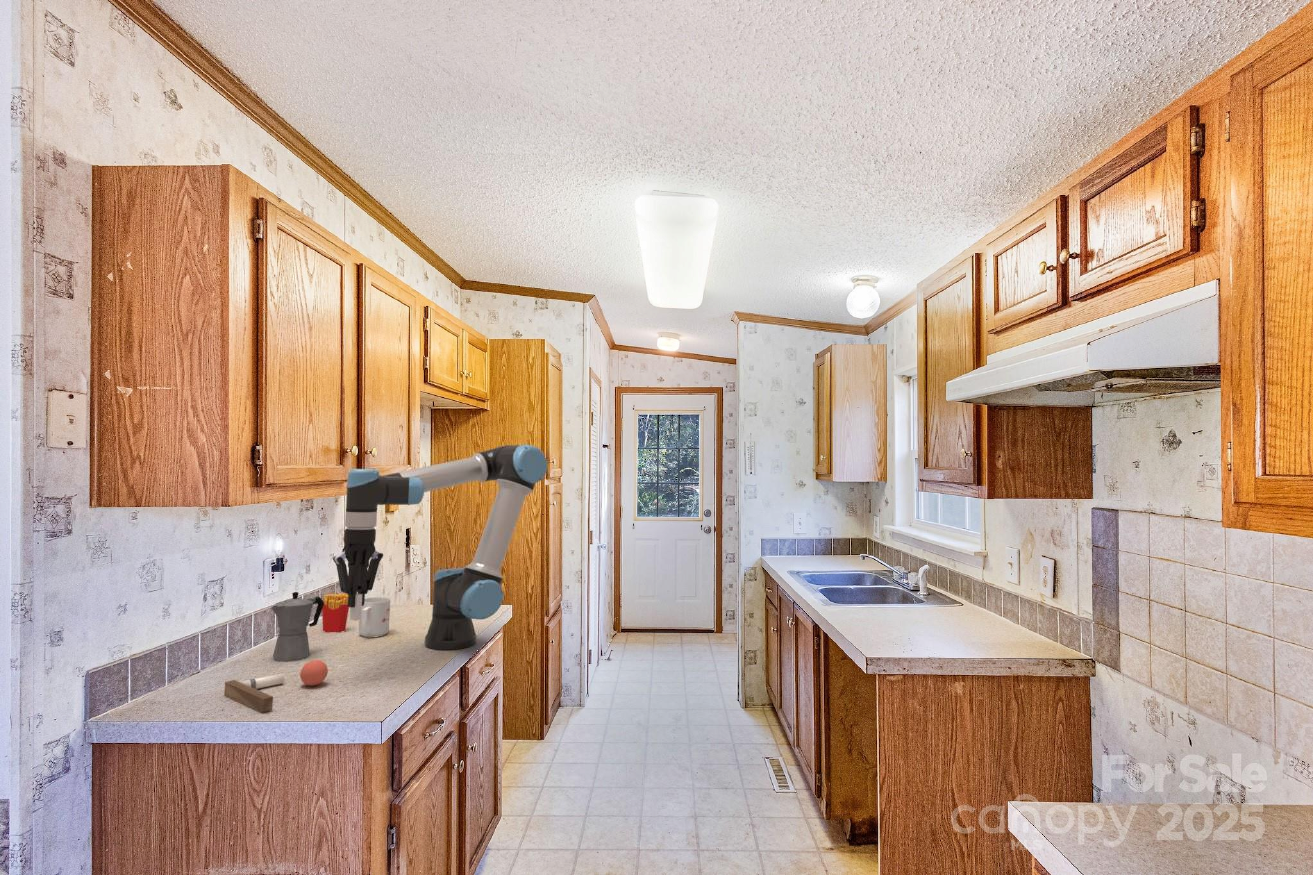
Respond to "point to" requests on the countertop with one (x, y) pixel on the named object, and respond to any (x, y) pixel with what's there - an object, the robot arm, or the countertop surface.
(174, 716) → the countertop surface
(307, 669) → the ball
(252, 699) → the long wooden block
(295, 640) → the coffeepot
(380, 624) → the mug
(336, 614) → the french fries
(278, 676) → the pin
